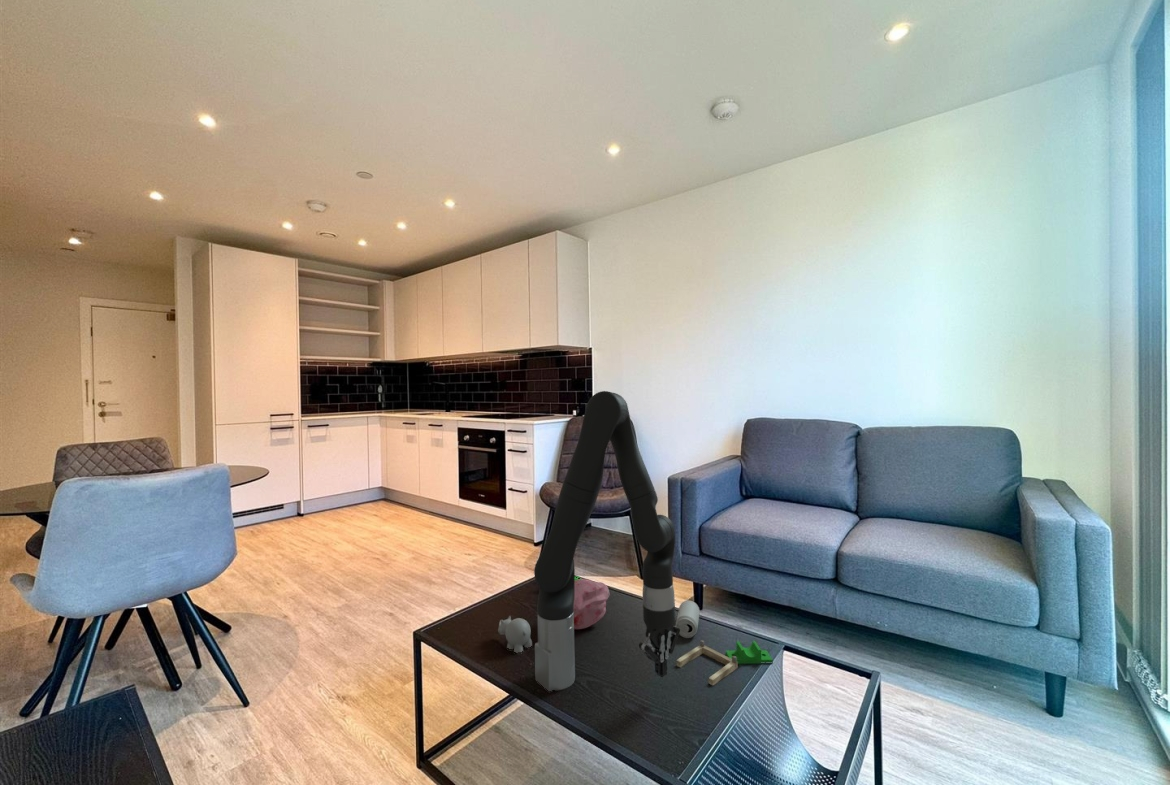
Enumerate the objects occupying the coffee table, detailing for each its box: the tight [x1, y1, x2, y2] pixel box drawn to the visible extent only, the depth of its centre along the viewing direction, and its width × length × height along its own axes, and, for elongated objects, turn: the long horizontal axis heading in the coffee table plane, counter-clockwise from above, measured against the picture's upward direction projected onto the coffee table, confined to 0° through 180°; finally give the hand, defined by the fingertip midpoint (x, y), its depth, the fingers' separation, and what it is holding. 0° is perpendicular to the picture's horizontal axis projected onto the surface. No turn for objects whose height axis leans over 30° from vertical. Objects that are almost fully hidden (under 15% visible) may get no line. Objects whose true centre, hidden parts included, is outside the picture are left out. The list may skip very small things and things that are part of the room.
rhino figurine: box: [497, 615, 533, 653], centre depth 131 cm, size 7×12×8 cm, turn 48°
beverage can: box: [675, 600, 701, 639], centre depth 139 cm, size 6×6×12 cm
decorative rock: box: [574, 578, 610, 630], centre depth 142 cm, size 19×14×15 cm
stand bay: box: [676, 639, 739, 686], centre depth 119 cm, size 11×11×3 cm
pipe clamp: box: [725, 640, 774, 664], centre depth 122 cm, size 11×4×5 cm
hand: (661, 674), depth 107 cm, fingers closed
